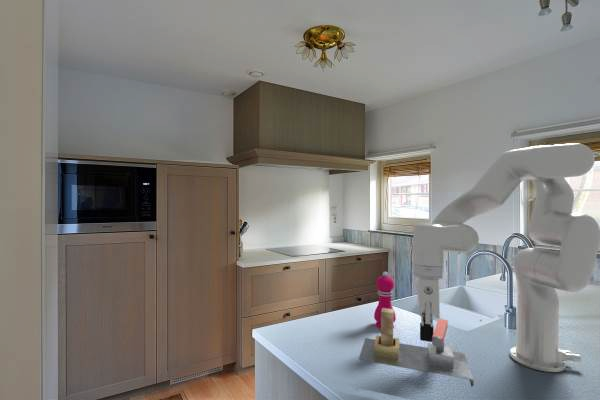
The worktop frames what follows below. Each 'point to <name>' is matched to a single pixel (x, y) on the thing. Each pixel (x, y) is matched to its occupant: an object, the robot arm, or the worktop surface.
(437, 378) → the worktop surface
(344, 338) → the worktop surface
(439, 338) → the orange and grey block
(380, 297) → the pepper mill
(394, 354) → the holed wooden block
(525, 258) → the robot arm
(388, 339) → the peg
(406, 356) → the board
